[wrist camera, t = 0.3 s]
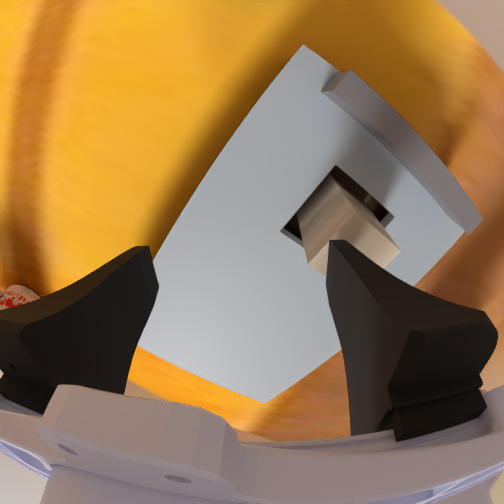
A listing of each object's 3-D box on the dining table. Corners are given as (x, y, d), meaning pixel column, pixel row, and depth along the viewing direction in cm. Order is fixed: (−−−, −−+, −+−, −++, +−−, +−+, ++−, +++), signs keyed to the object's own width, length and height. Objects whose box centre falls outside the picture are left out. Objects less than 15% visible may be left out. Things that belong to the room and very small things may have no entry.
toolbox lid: (469, 213, 15) (498, 237, 12) (265, 396, 24) (264, 427, 22) (300, 46, 11) (310, 33, 9) (118, 325, 21) (102, 356, 18)
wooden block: (363, 201, 17) (401, 251, 12) (332, 236, 18) (355, 296, 13) (327, 171, 16) (355, 211, 11) (295, 210, 18) (307, 264, 12)
